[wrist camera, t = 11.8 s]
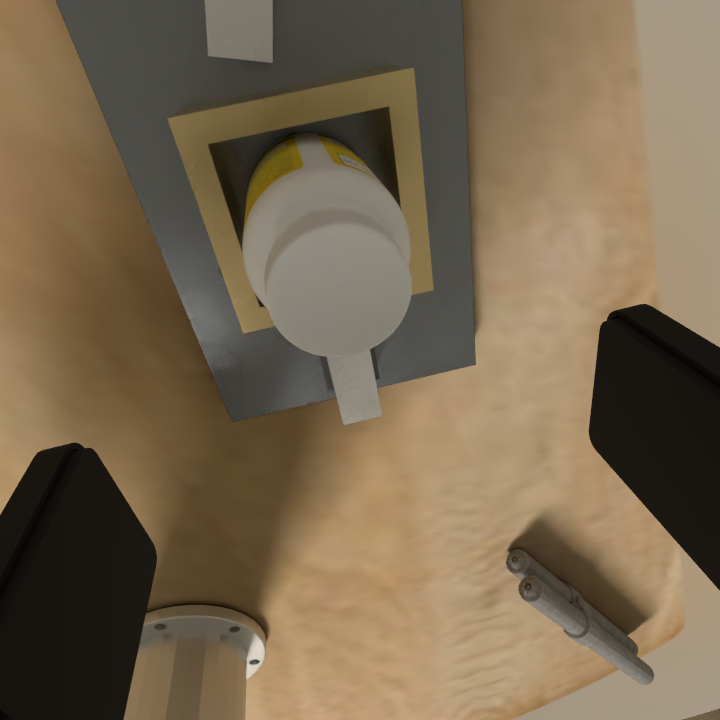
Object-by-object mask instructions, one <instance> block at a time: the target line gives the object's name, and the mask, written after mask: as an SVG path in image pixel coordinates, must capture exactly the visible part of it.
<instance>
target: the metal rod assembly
mask: <svg viewBox="0 0 720 720" xmlns="http://www.w3.org/2000/svg"><path fill="white" fill-rule="evenodd" d="M506 564H507V568H508V569H509V571H510V572H512V573H513V574H514V575H516V576H517V577H518V578H520V579H521V582H520V584H519V589H518V590H519V593H520V595H521V597H522V598H523V599H524V600H525V601H526V602H528V603H529V604H530V605H532V606H533V607H535V608H536V609H537V610H539V611H540V612H541V613H543V614H544V615H546V616H547V617H548V618H550V619H551V620H552V621H554V622H555V623H557V624H558V625H559V626H561V627H562V628H563V629H564V632H565V633H566V634H567V635H568V636H569V637H571V638H572V639H573V640H575V641H576V642H577V643H579V644H581V645H584V646H587V647H589V648H590V649H592V650H593V651H595V652H596V653H597V654H599V655H600V656H602V657H603V658H604V659H606V660H607V661H609V662H610V663H611V664H613V665H614V666H616V667H617V668H618V669H620V670H621V671H623V672H624V673H626V674H627V675H628V676H630V677H631V678H632V679H634V680H635V681H637V682H638V683H640V684H643V685H648V684H650V683H651V682H652V681H653V679H654V673H653V671H652V669H651V668H650V667H649V666H648V665H647V664H646V663H645V662H643V661H642V660H641V659H640V658H638V657H637V654H638V647H637V645H636V643H635V642H634V641H633V640H632V639H631V638H629V637H628V636H627V635H626V634H625V633H623V632H622V631H621V630H620V629H619V628H617V627H616V626H615V625H614V624H612V623H611V622H610V621H609V620H608V619H606V618H605V617H604V616H603V615H602V614H600V613H599V612H598V611H597V610H596V609H594V608H593V607H592V606H591V605H589V604H588V603H587V602H586V601H585V600H583V599H582V596H581V594H580V593H579V592H577V591H576V590H575V589H574V588H573V587H571V586H570V585H569V584H568V583H566V582H562V581H560V580H558V579H557V578H556V577H555V576H554V575H552V574H551V573H550V572H549V571H548V570H546V569H545V568H544V567H543V566H541V565H540V564H539V563H538V562H537V561H535V560H534V559H533V558H532V557H530V556H529V555H528V554H527V553H526V552H524V551H522V550H517V549H516V550H514V551H512V552H511V553H510V554H509V555H508V557H507V560H506Z"/></svg>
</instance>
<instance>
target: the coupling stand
mask: <svg viewBox="0 0 720 720" xmlns="http://www.w3.org/2000/svg"><path fill="white" fill-rule="evenodd" d="M56 3H57V5H58V7H59V10H60V12H61V15H62V17H63V19H64V22H65V24H66V27H67V29H68V31H69V34H70V36H71V38H72V41H73V43H74V46H75V48H76V50H77V53H78V55H79V58H80V60H81V62H82V65H83V67H84V70H85V72H86V74H87V77H88V79H89V81H90V84H91V86H92V89H93V91H94V93H95V96H96V98H97V101H98V103H99V105H100V108H101V110H102V112H103V115H104V117H105V120H106V122H107V124H108V127H109V129H110V132H111V134H112V136H113V139H114V141H115V144H116V146H117V148H118V151H119V153H120V155H121V158H122V160H123V163H124V165H125V167H126V170H127V172H128V175H129V177H130V179H131V182H132V184H133V186H134V189H135V191H136V194H137V196H138V198H139V201H140V203H141V206H142V208H143V210H144V213H145V215H146V218H147V220H148V222H149V225H150V227H151V229H152V232H153V234H154V237H155V239H156V241H157V244H158V246H159V249H160V251H161V253H162V256H163V258H164V260H165V263H166V265H167V268H168V270H169V272H170V275H171V277H172V280H173V282H174V284H175V287H176V289H177V291H178V294H179V296H180V299H181V301H182V303H183V306H184V308H185V311H186V313H187V315H188V318H189V320H190V323H191V325H192V327H193V330H194V332H195V334H196V337H197V339H198V342H199V344H200V346H201V349H202V351H203V354H204V356H205V358H206V361H207V363H208V365H209V368H210V370H211V373H212V375H213V377H214V380H215V382H216V385H217V387H218V389H219V392H220V394H221V397H222V399H223V401H224V404H225V406H226V408H227V411H228V413H229V416H230V418H231V420H232V422H235V421H239V420H243V419H247V418H252V417H256V416H260V415H264V414H269V413H273V412H277V411H281V410H286V409H290V408H294V407H298V406H303V405H307V404H311V403H315V402H319V401H324V400H328V399H332V398H336V397H337V401H338V405H339V409H340V413H341V417H342V421H343V425H347V424H351V423H355V422H359V421H363V420H368V419H372V418H376V417H380V416H382V412H381V407H380V401H379V396H378V391H377V388H379V387H383V386H387V385H392V384H396V383H400V382H404V381H409V380H413V379H417V378H421V377H426V376H430V375H434V374H438V373H442V372H447V371H451V370H455V369H459V368H464V367H468V366H472V365H476V359H475V333H474V307H473V281H472V255H471V228H470V202H469V176H468V150H467V124H466V98H465V72H464V46H463V19H462V0H56ZM298 133H320V134H325V135H328V136H331V137H333V138H336V139H338V140H340V141H341V142H343V143H344V144H346V145H347V146H348V147H350V148H351V149H352V150H353V151H354V152H355V153H356V154H357V155H358V156H359V157H360V158H361V159H362V160H363V161H364V163H365V164H366V165H367V166H368V168H369V169H370V170H371V171H372V172H373V173H374V175H375V176H376V177H377V178H378V179H379V180H380V182H381V183H382V184H383V185H384V186H385V187H386V189H387V190H388V191H389V192H390V193H391V195H392V196H393V197H394V199H395V200H396V202H397V204H398V205H399V207H400V209H401V211H402V213H403V215H404V217H405V220H406V223H407V226H408V230H409V236H410V246H411V252H410V262H409V270H410V274H411V281H412V293H411V299H410V303H409V306H408V309H407V312H406V314H405V316H404V318H403V320H402V321H401V323H400V325H399V326H398V327H397V328H396V330H395V331H394V332H393V333H392V334H391V335H390V336H389V337H388V338H387V339H385V340H384V341H383V342H381V343H380V344H378V345H377V346H375V347H373V348H371V349H369V350H367V351H365V352H362V353H359V354H356V355H352V356H345V357H325V356H319V355H315V354H311V353H309V352H306V351H303V350H302V349H300V348H298V347H297V346H295V345H293V344H292V343H291V342H289V341H288V340H287V339H286V338H285V337H284V336H283V335H282V334H281V333H280V331H279V330H278V329H277V327H276V326H275V324H274V323H273V321H272V319H271V317H270V314H269V311H268V309H267V308H266V307H265V306H264V305H263V303H262V302H261V301H260V300H259V298H258V297H257V296H256V294H255V293H254V291H253V289H252V287H251V285H250V282H249V280H248V277H247V274H246V271H245V266H244V261H243V249H242V240H243V231H244V221H245V212H246V196H247V188H248V183H249V179H250V175H251V173H252V170H253V168H254V166H255V164H256V163H257V161H258V159H259V158H260V157H261V155H262V154H263V153H264V152H265V151H266V150H267V149H268V148H269V147H270V146H272V145H273V144H274V143H276V142H277V141H279V140H281V139H283V138H285V137H288V136H291V135H294V134H298Z"/></svg>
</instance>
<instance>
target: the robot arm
mask: <svg viewBox="0 0 720 720" xmlns="http://www.w3.org/2000/svg"><path fill="white" fill-rule="evenodd" d="M589 437H590V440H591V443H592V445H593V447H594V448H595V450H596V451H597V452H598V453H599V454H600V455H601V457H602V458H603V459H604V460H605V461H606V462H607V463H608V464H609V466H610V467H611V468H612V469H613V470H614V471H615V472H616V474H617V475H618V476H619V477H620V478H621V479H622V480H623V481H624V483H625V484H626V485H627V486H628V487H629V488H630V489H631V490H632V492H633V493H634V494H635V495H636V496H637V497H638V498H639V500H640V501H641V502H642V503H643V504H644V505H645V506H646V507H647V509H648V510H649V511H650V512H651V513H652V514H653V515H654V517H655V518H656V519H657V520H658V521H659V522H660V523H661V524H662V526H663V527H664V528H665V529H666V530H667V531H668V532H669V534H670V535H671V536H672V537H673V538H674V539H675V540H676V541H677V543H678V544H679V545H680V546H681V547H682V548H683V549H684V550H685V552H686V553H687V554H688V555H689V556H690V557H691V558H692V560H693V561H694V562H695V563H696V564H697V565H698V566H699V568H700V569H701V570H702V571H703V572H704V573H705V574H706V575H707V577H708V578H709V579H710V580H711V581H712V582H713V583H714V585H715V586H716V587H717V588H718V589H719V590H720V347H718V346H716V345H715V344H713V343H711V342H710V341H708V340H706V339H705V338H703V337H701V336H700V335H698V334H696V333H695V332H693V331H691V330H690V329H688V328H686V327H685V326H683V325H681V324H680V323H678V322H677V321H675V320H673V319H672V318H670V317H668V316H667V315H665V314H663V313H662V312H660V311H658V310H657V309H655V308H653V307H652V306H650V305H647V304H640V305H636V306H632V307H628V308H624V309H620V310H616V311H613V312H611V313H610V314H609V316H608V318H607V321H605V322H603V323H602V325H601V327H600V332H599V341H598V351H597V360H596V369H595V378H594V388H593V397H592V406H591V415H590V425H589ZM156 563H157V555H156V549H155V546H154V544H153V542H152V541H151V539H150V537H149V536H148V534H147V533H146V531H145V529H144V528H143V526H142V525H141V523H140V521H139V520H138V518H137V517H136V515H135V514H134V512H133V510H132V509H131V507H130V506H129V504H128V502H127V501H126V499H125V498H124V496H123V494H122V493H121V491H120V490H119V488H118V486H117V485H116V483H115V482H114V480H113V479H112V477H111V475H110V474H109V472H108V471H107V469H106V467H105V466H104V464H103V463H102V461H101V459H100V458H99V456H98V455H97V453H96V452H95V451H94V450H93V449H91V448H84V447H83V446H82V445H80V444H79V443H71V444H67V445H62V446H58V447H54V448H50V449H46V450H42V451H40V452H38V453H37V454H36V456H35V457H34V458H33V460H32V462H31V464H30V465H29V467H28V469H27V470H26V472H25V474H24V475H23V477H22V479H21V481H20V482H19V484H18V486H17V487H16V489H15V491H14V493H13V494H12V496H11V498H10V499H9V501H8V503H7V504H6V506H5V508H4V510H3V511H2V513H1V515H0V720H245V704H246V679H248V678H249V677H250V676H251V675H253V674H254V673H255V672H256V671H257V670H258V669H259V667H260V666H261V665H262V663H263V661H264V658H265V656H266V638H265V634H264V632H263V630H262V628H261V627H260V626H259V625H258V624H257V623H256V622H255V621H254V620H253V619H251V618H249V617H248V616H246V615H245V614H242V613H240V612H237V611H235V610H232V609H228V608H223V607H219V606H210V605H182V606H173V607H168V608H163V609H159V610H155V611H152V612H149V613H146V611H147V606H148V602H149V597H150V592H151V587H152V583H153V578H154V573H155V569H156ZM683 720H720V709H717V710H714V711H710V712H707V713H704V714H700V715H697V716H693V717H690V718H687V719H683Z"/></svg>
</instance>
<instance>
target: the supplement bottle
mask: <svg viewBox="0 0 720 720" xmlns="http://www.w3.org/2000/svg"><path fill="white" fill-rule="evenodd" d="M242 249H243V261H244V266H245V271H246V274H247V277H248V280H249V282H250V285H251V287H252V289H253V291H254V293H255V294H256V296H257V297H258V298H259V300H260V301H261V302H262V303H263V305H264V306H265V307H266V308H267V309H268V311H269V314H270V317H271V319H272V321H273V323H274V324H275V326H276V327H277V329H278V330H279V331H280V333H281V334H282V335H283V336H284V337H285V338H286V339H287V340H288V341H289V342H291V343H292V344H293V345H295V346H297V347H298V348H300V349H302V350H303V351H306V352H309V353H311V354H315V355H319V356H325V357H345V356H352V355H356V354H359V353H362V352H365V351H367V350H369V349H371V348H373V347H375V346H377V345H378V344H380V343H381V342H383V341H384V340H385V339H387V338H388V337H389V336H390V335H391V334H392V333H393V332H394V331H395V330H396V328H397V327H398V326H399V325H400V323H401V321H402V320H403V318H404V316H405V314H406V312H407V309H408V306H409V303H410V299H411V293H412V281H411V274H410V270H409V262H410V252H411V246H410V236H409V230H408V226H407V223H406V220H405V217H404V215H403V213H402V211H401V209H400V207H399V205H398V204H397V202H396V200H395V199H394V197H393V196H392V195H391V193H390V192H389V191H388V190H387V189H386V187H385V186H384V185H383V184H382V183H381V182H380V180H379V179H378V178H377V177H376V176H375V175H374V173H373V172H372V171H371V170H370V169H369V168H368V166H367V165H366V164H365V163H364V161H363V160H362V159H361V158H360V157H359V156H358V155H357V154H356V153H355V152H354V151H353V150H352V149H351V148H350V147H348V146H347V145H346V144H344V143H343V142H341V141H340V140H338V139H336V138H333V137H331V136H328V135H325V134H320V133H298V134H294V135H291V136H288V137H285V138H283V139H281V140H279V141H277V142H276V143H274V144H273V145H272V146H270V147H269V148H268V149H267V150H266V151H265V152H264V153H263V154H262V155H261V157H260V158H259V159H258V161H257V163H256V164H255V166H254V168H253V170H252V173H251V175H250V179H249V183H248V188H247V196H246V212H245V221H244V231H243V240H242Z"/></svg>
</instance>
